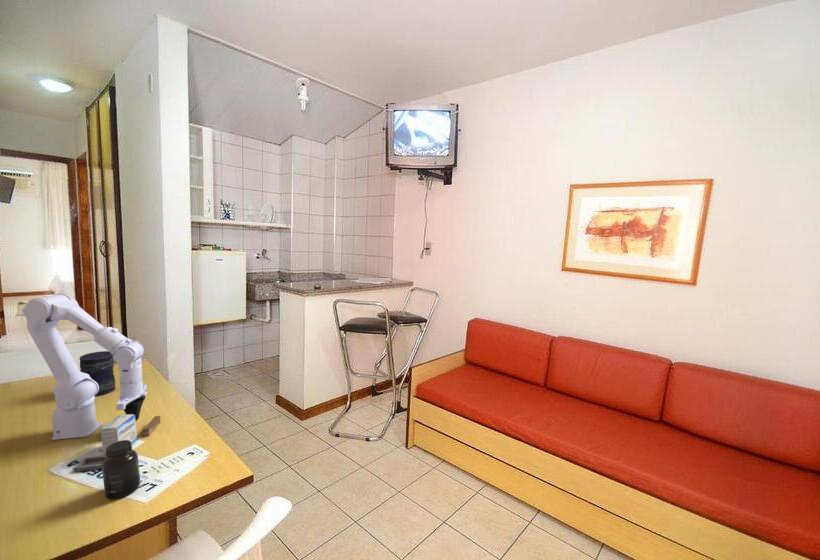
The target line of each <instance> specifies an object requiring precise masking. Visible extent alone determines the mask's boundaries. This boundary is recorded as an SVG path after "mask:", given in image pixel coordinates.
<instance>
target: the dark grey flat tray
mask: <svg viewBox="0 0 820 560" xmlns="http://www.w3.org/2000/svg"><path fill="white" fill-rule="evenodd" d="M105 458H107V457H106V456H103V455H100V456H98V455H97V456H90V457H89V456H88V457H84V458H83V459H82V460H81V461H79V463H78V464H77V465H76V466H75V467H74V473H80V472H79V471H82V472H90V471H89V470H91V471H95V470H94V469H100V470H102V463H103V461H104V460H105Z"/></svg>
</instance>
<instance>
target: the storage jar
mask: <svg viewBox="0 0 820 560" xmlns="http://www.w3.org/2000/svg"><path fill="white" fill-rule="evenodd" d="M113 356H114V355H113V354H112V353H110V352H109V351H107V350H103V351H95V352H89V353H85V354H83V355H81V356H80V357H79V368H80V369H79V371H80V372H83V373H86V374H89V376H90V377H91V379H93V380H94V381H96V382H97V384H98V386H99V391H98V393H97V394H96V395H95V398H97V397H102V396H105V395H109V394H111V393H113V392H115V390H116V378H115V374H114V365H115V364H114V362H115V361H114V359H113Z"/></svg>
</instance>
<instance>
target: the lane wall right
mask: <svg viewBox="0 0 820 560" xmlns="http://www.w3.org/2000/svg"><path fill="white" fill-rule="evenodd" d="M160 424H161V415H156V416H154V417H152V418H151V420H150V421H149V422H148V423H147V425H145V427H144V428H143V429H142V431H143V433H142V434H143V437H150V436H151V435H152V434H153V432H154V431H155V430H156V429H157V428H158V427H159V425H160Z"/></svg>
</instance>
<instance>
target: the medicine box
mask: <svg viewBox="0 0 820 560" xmlns="http://www.w3.org/2000/svg"><path fill="white" fill-rule="evenodd" d="M136 422H137V421H135V415H134V414H127V415H126V414H120V415H118V416H117V417H116V418H114V419H113V420H111V421H110V422H108V423H107V424H106V425H104V426H103V427H101V428H100V432H101V440H102V441H101V448H102V449H101V450H102V456H106V448H107V447H108V446H109V445H111V444H113V443H115V442H118V441H122V440H129V441H131V445H132V446H133V444H134V443H135V442H137V440H138V437H137V426H136V425H137V424H136Z"/></svg>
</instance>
